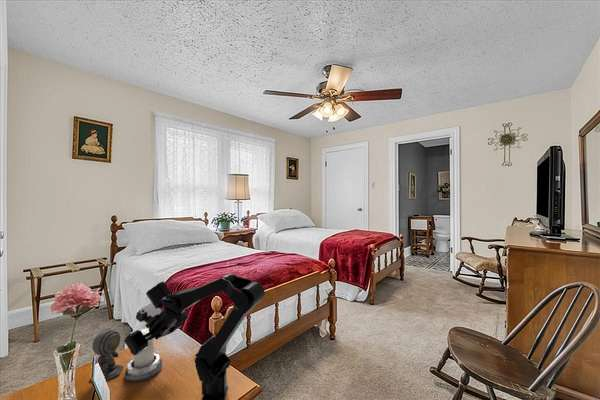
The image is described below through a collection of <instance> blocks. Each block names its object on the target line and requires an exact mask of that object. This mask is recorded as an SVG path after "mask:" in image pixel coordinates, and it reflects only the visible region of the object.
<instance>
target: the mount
mask: <svg viewBox="0 0 600 400" xmlns="http://www.w3.org/2000/svg"><path fill="white" fill-rule="evenodd" d="M162 369H163V360H162V359H161V358H160V354H158V353H156V352H154V363H152V364H151V365H149V366H146V367H143V368H134V357H133V358H132V359H131V360H130V361H129V362H127V368H126V369H125V372H124V378H125V380H126V381H128V382H129V383H140V382H144V381H147V380H150V379H152V378H154V377H155V376H157V375H158V374H159V372H161V370H162Z"/></svg>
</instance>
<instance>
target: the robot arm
mask: <svg viewBox="0 0 600 400" xmlns="http://www.w3.org/2000/svg"><path fill="white" fill-rule="evenodd" d="M221 292H224V293H225V295H226V297H228V299H229V300H230V301H231V302H232V310H231V311H230V313H229V315H228V316H227V317H226V319H225V321H224V322H223V324H222V325H221V326H220V328H219V330H218V332H217V333H216V335H215V336H211V338H209V339H208V340H207V341H205V342H204V343H203V344H201V345H200V347H199V349H198V352H196V354H195V355H194V356H195V358H194V363H195V364H194V365H195V369H196V373H197V376H198V377H197V378H198V379H199V382H201V395H202V397H201V398H202V399H201V400H225V399H226V398H225V397H226V394H227V390H228V386H229V383H228V382H227V381H228V380H227V378H228V377H227V369H229V368H230V366H231V362H232V361H231V358H230V357H229V356H228V355H227V354H226V351H227V344H228V343H229V342H230V340H231V338H233V336H234V334H235V333H236V331H237V330H238V328H239V327H240V325H241V324H242V322H243V321H244V319H245V317H246V316H247V315H248V313H249V312H250V311H251V310H252V309H254V308H255V306H257V305H258V304H259V303H260V302H261V301H262V299H264V298H265V295H266V291H265V289H264V286H263V285H262V283H260V282H258V281H254V280H251V279H249V278H246V277H241V276H238V275H236V274H234V273H227V274H225V275H223V276H221V277H219V278H217V279H215V280H213V281H210V282H208V283H205V284H204V285H201V286H198V287H196V286H195V287H194V286H193V287H188V288H184V289H183V290H178V291H175V292H173V293H172V292H171V290H170V289H169V288H168V286H167V284H166V283H165V281H160V282H158V283H157V284H156V285H154V286H152V288H150V289H148V291H147V292H146V293H145V295H146V296H147V298H148V299H149V301H150V302H151V303H150V304H147V305H144V306H143V307H141V308H140V309H139V310H138V311H137V312H136V315H135V319H136V320H137V321H138V322H140V323H142V322H145V323H146V324H145V327H146V328H149V333H147V334H145V335H143V334H142V332H141V331H140V330H141V329H139V330H138V329H137V330H134V331H133V332H131V333H129V334H127V336H126V337H125V338H124V340H123V342H124V344H125V345H126V347H127V348H128V349H129V351H130V353H131V354H132V356H134V355H137V354H139V353H140V352H142V351H143V350H145V349H146V348H147V347H148V341H150V340H152V339H153V340H154V339H155V340H158V339H161V338H162V337H165V336H167V335H170V334H172V333H174V332H176V330H178V329H180V328H181V327H182V326H183V323H184V321H185V320H187V319H188V317H189V316H188V314H187V311H185V310H187V309H188V308H191V307H192V306H194V305H196V304H198V302H200V301H201V300H204V299H206V298H208V297H209V298H210V296H213V295H216V294H219V293H221ZM150 336H151V337H150ZM148 337H149V338H148Z"/></svg>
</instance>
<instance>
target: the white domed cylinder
mask: <svg viewBox="0 0 600 400" xmlns="http://www.w3.org/2000/svg"><path fill="white" fill-rule="evenodd" d="M139 330H140V331H141V332H142V334H143V335H145V334H147V333H149V328H147V327H146V328H142V329H139ZM150 337H151V336H150ZM148 338H149V337H148ZM154 353H155V345H154V338H153V339H152V340H150V341H148V347H147V348H146V349H145V350H143V351H142V352H140V353H139V354H137V355H133V358H134V368H143V367H146V366H149V365H151V364H152V363H154Z"/></svg>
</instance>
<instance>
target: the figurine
mask: <svg viewBox="0 0 600 400" xmlns="http://www.w3.org/2000/svg"><path fill="white" fill-rule="evenodd" d="M120 343H121V334H120V332H119V331H117V330H115V329H105V330H104V331H101V332H100V333H99V334H97V335H96V336H95V338H94V339H93V341H92V346H91V347H92V351H93V353H95V354H96V355H98V358H97V359H98V363H99V365H100V367H101V370H102V372H103V374H104V376H105V379H106V381H107V382H109V381H111V380H114V379H116V378H118V377H120V375H121V373H122V371H123V370H124V366H123V365H122V364H117V363H116V361H115V358H119V353H118V352H117V351H116V350H117V348H118V347H119V345H120ZM88 382H89V383H92V382H91V377H90V379H89V381H88Z"/></svg>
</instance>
